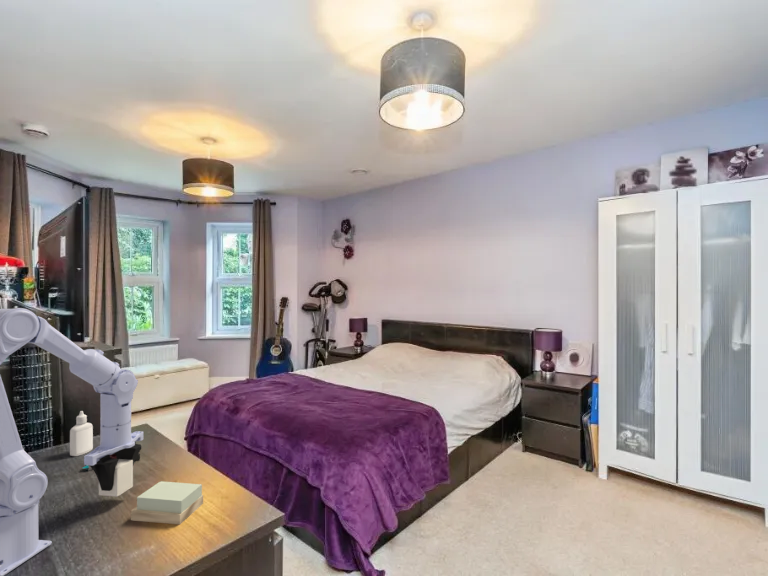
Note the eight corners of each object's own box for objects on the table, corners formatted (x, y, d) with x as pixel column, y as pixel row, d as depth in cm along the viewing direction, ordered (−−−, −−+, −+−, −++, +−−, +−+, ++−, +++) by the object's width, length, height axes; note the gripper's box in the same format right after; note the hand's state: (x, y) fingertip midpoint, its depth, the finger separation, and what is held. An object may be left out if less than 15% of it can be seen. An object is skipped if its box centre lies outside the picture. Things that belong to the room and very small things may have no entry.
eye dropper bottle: (95, 451, 118) (95, 410, 118) (71, 458, 114) (71, 415, 114) (91, 448, 121) (91, 407, 121) (67, 453, 117) (67, 411, 117)
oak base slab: (180, 527, 82) (180, 515, 82) (130, 523, 83) (130, 511, 83) (203, 506, 90) (203, 495, 90) (157, 502, 91) (157, 491, 91)
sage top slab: (181, 513, 82) (181, 501, 82) (136, 509, 84) (136, 497, 84) (201, 495, 89) (201, 484, 89) (160, 492, 91) (160, 481, 91)
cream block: (117, 496, 88) (117, 468, 88) (98, 495, 88) (98, 467, 88) (132, 486, 92) (132, 459, 92) (114, 485, 93) (114, 458, 93)
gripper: (105, 435, 83) (105, 502, 83) (155, 413, 97) (155, 470, 97) (74, 433, 83) (74, 500, 83) (128, 412, 98) (128, 468, 98)
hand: (116, 484), depth 90 cm, fingers closed on cream block, 4 cm apart
